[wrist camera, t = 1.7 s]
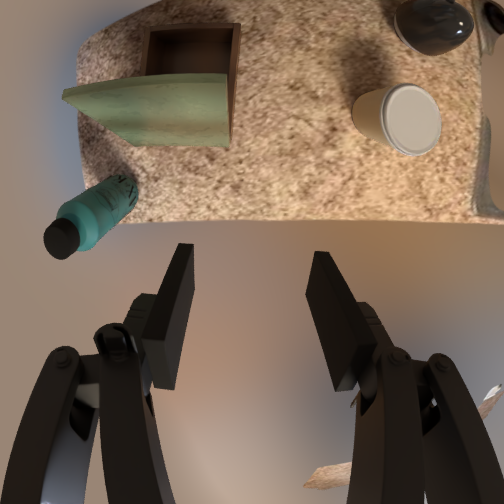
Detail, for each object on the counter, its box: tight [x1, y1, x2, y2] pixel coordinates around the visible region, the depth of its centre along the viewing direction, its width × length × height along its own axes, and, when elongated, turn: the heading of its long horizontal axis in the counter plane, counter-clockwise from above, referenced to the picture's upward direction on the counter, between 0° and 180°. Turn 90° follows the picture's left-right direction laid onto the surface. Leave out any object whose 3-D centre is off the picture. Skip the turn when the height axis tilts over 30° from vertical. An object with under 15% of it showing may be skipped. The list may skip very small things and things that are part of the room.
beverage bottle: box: [44, 174, 138, 260], centre depth 31 cm, size 6×7×20 cm
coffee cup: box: [352, 83, 442, 156], centre depth 31 cm, size 9×9×12 cm
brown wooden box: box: [140, 23, 241, 142], centre depth 30 cm, size 16×12×8 cm
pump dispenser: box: [394, 0, 474, 56], centre depth 22 cm, size 10×10×15 cm
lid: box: [62, 73, 230, 147], centre depth 22 cm, size 17×12×1 cm
